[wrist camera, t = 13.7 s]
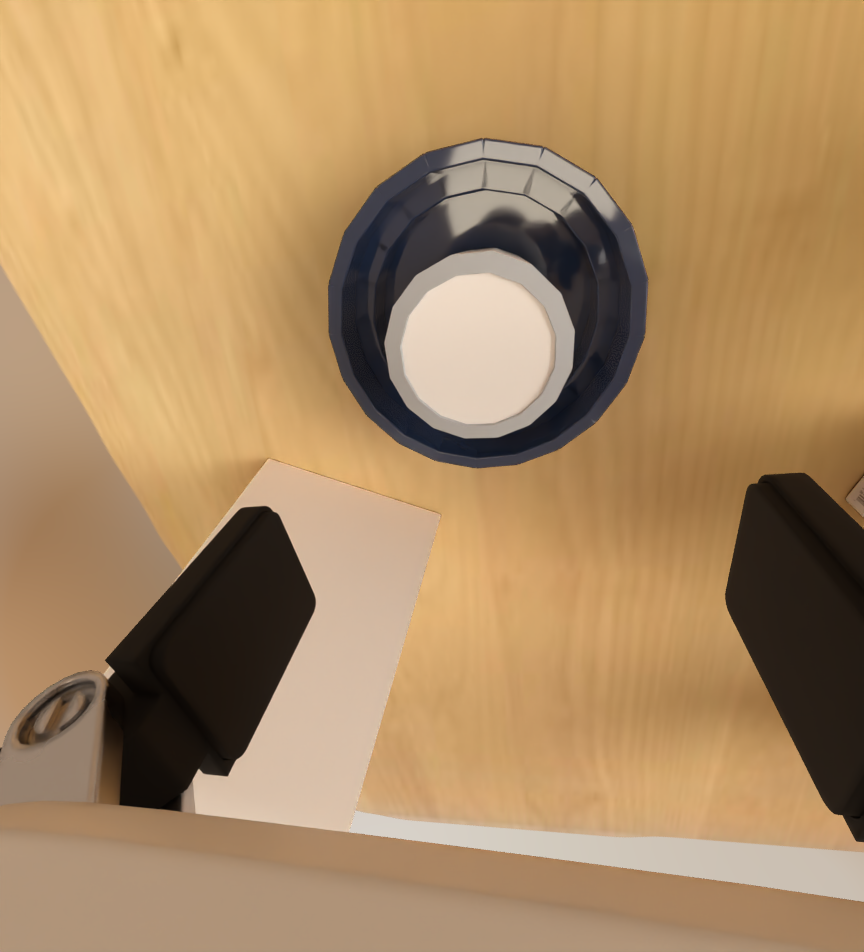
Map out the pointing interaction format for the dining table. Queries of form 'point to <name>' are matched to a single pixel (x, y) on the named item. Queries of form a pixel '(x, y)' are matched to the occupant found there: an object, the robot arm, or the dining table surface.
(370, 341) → the screw cap lid
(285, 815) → the milk
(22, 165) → the dining table surface
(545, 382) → the white cup
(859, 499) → the coffee box
